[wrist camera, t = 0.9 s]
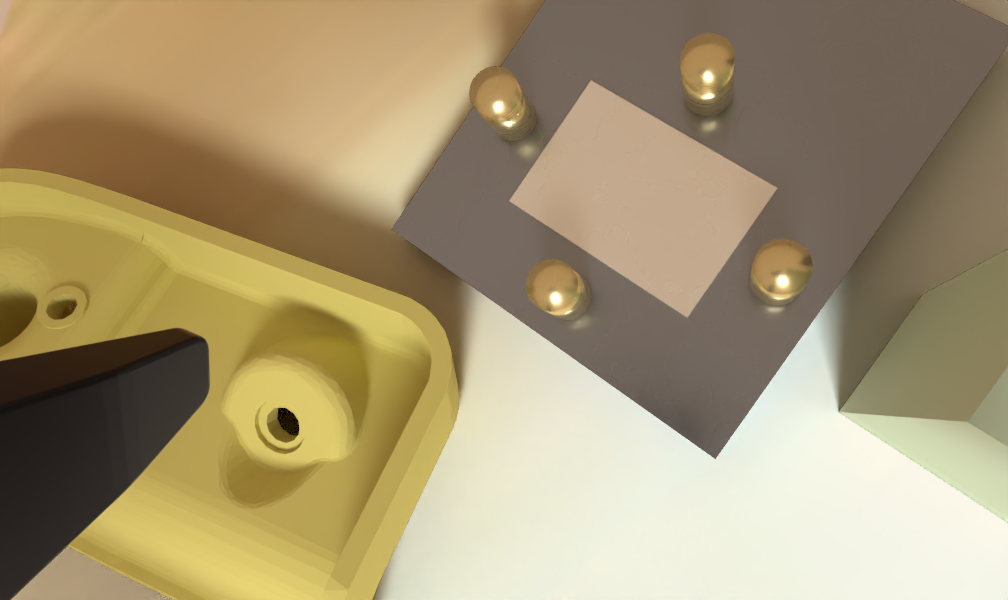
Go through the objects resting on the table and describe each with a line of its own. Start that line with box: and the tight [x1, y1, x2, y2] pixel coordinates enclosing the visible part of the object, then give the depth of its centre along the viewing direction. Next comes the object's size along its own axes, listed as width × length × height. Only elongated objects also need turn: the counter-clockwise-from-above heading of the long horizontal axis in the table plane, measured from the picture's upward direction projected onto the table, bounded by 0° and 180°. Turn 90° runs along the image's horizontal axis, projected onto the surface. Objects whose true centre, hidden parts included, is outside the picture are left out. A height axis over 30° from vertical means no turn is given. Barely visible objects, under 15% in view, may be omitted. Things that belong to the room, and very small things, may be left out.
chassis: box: [392, 0, 1008, 459], centre depth 22 cm, size 14×12×4 cm
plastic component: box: [0, 168, 459, 600], centre depth 26 cm, size 20×7×10 cm
